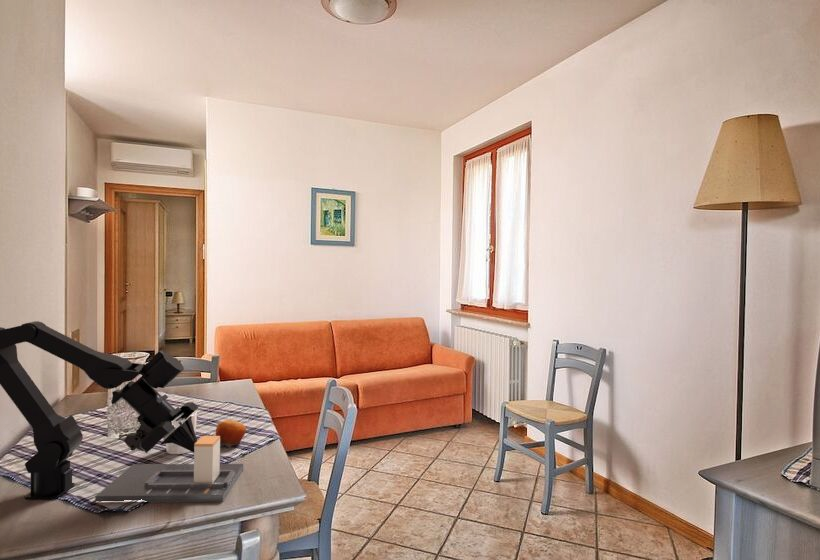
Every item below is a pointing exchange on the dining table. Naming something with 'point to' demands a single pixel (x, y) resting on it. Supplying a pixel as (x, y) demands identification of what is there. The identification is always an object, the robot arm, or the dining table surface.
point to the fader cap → (206, 459)
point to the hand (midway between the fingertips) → (197, 451)
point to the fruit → (230, 432)
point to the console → (169, 484)
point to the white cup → (177, 449)
